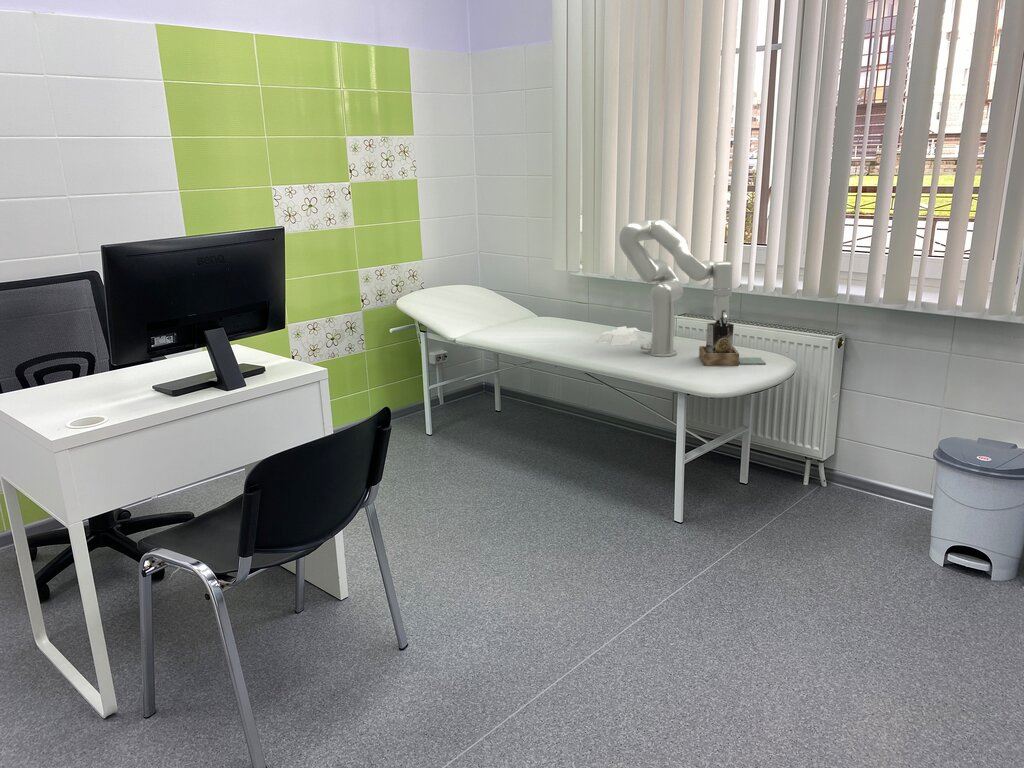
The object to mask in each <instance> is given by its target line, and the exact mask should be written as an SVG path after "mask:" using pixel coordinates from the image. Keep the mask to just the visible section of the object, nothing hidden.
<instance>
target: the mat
mask: <svg viewBox="0 0 1024 768" xmlns="http://www.w3.org/2000/svg"><path fill="white" fill-rule="evenodd" d="M739 365H743V366H746V365H749V366H752V365H753V366H756V365H762V366H764V365H767V363H766V362H765V361H764V360H763V359H762V357H761V356H760V357H739Z"/></svg>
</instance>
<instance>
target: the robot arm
mask: <svg viewBox="0 0 1024 768" xmlns="http://www.w3.org/2000/svg"><path fill="white" fill-rule="evenodd" d="M618 236H619V238H618V241H619V246H620V249H621V250H622V252H623V253H624V256H625V257H627V259H628V261H629V263H631V265H632V267H633V268H634V269H635V271H636V273H637V274H638V275H639V277H640V278H641V280H642V281H643V282H645V283H646V284H652V283H655V284H654V285H653V286H652V288H651V290H650V302H651V339H650V341H651V342H649V343H648V344H640V350H643V351H646V350H647V355H649V356H652V357H659V358H668V357H673V356H676V355H677V354H678V351H677V350H675V349H674V342H675V341H674V340H675V338H674V337H675V335H674V334H675V309H674V302H675V301H677V300H679V299H681V297H682V296H683V293H684V286H683V284H682V282H681V280H680V279H679V278H678V276H677V275H676V272H674V271H673V269H672V267H671V266H670V265H669V264H668V262H666V261H665V260H663V259H660V258H658V259H657V258H656V259H653V257H652V255H650V253H649V252H648V250H647V249H646V247H644V246H643V245H642V244H641V243H640V242H641V241H642V242H643V241H652V240H655V242H657V243H658V244H659V245H660V246H662V248H664V249H665V250H666V251H667V252H668V253H669V254H671V256H672V257H673V260H674V262H675V263H676V265H677V266H678V268H679V269H680V270H681V271H683V273H684V274H685V275H687V276H688V277H689V278H690V279H692V280H693V281H696V282H703V281H705V280H710V279H712V297H713V298H714V299H713V312H712V317H713V319H714V320H715V322H714V323H720V326H719V336H727V333H728V326H727V323H728V321H729V317H730V297H732V293H733V292H732V291H733V290H732V289H733V288H732V287H733V286H732V285H733V264H732V262H730V261H714V260H702V261H699V259H697V258H696V257H694V256H693V254H692V253H691V252H690V250H689V248H688V245H689V242H688V240H687V238H685V237H684V236H683V235H682V234H681V233H680V232H678V225H677V223H676V221H674V220H673V219H671V218H661V219H649V220H648V219H647V220H638V221H632V222H629V223H626V224H625V225H624V226H623V227H622V228H621V230H620V233H619V235H618Z"/></svg>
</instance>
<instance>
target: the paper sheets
mask: <svg viewBox="0 0 1024 768" xmlns="http://www.w3.org/2000/svg"><path fill="white" fill-rule="evenodd" d="M638 339H647V337H646V336H645V334H643V332H642V331H641V330H640V329H638V328H637V327H627V326H626V325H625V326H618V327H615V329H611V330H609V331H604V332H602V334H601V335H600V336H599V337H598V339H597V340H596V341H595V344H603V343H608V344H609V346H617V345H631V344H632V342H635V341H636V342H637V340H638Z"/></svg>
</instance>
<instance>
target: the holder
mask: <svg viewBox="0 0 1024 768" xmlns="http://www.w3.org/2000/svg"><path fill="white" fill-rule="evenodd" d="M698 350H699V351H698V355H699V356H698V358H699V360H700V362H701V364H702V365H703V366H704V367H706V366H709V367H710V366H711V367H713V366H715V367H716V366H717V367H723V366H724V367H725V366H727V367H729V366H730V367H731V366H734V367H737V366H739V365H740V363H739V358H740V353H739V352H738V350H737V349H736V348H735V347H734V345H732V353H706V345H705V346H703V345H699V349H698Z"/></svg>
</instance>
